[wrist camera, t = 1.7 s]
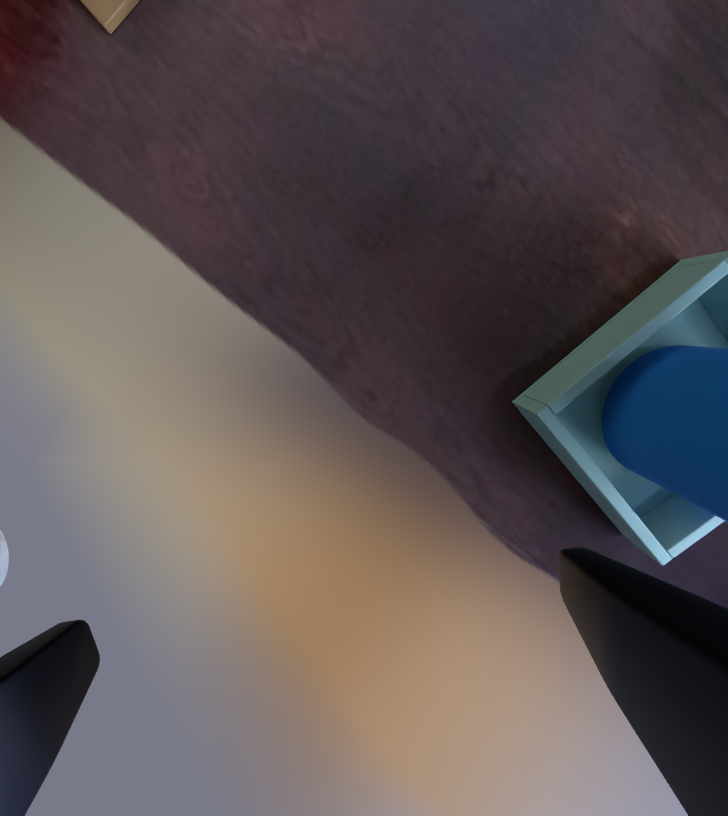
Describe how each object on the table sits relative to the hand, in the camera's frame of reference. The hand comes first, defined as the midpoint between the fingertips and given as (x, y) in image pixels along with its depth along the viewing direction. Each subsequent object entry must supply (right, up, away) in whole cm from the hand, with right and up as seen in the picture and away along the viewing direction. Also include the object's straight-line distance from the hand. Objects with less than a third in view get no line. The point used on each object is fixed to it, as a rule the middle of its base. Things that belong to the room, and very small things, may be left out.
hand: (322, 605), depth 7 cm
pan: (+15, +4, +13) cm, 20 cm away
